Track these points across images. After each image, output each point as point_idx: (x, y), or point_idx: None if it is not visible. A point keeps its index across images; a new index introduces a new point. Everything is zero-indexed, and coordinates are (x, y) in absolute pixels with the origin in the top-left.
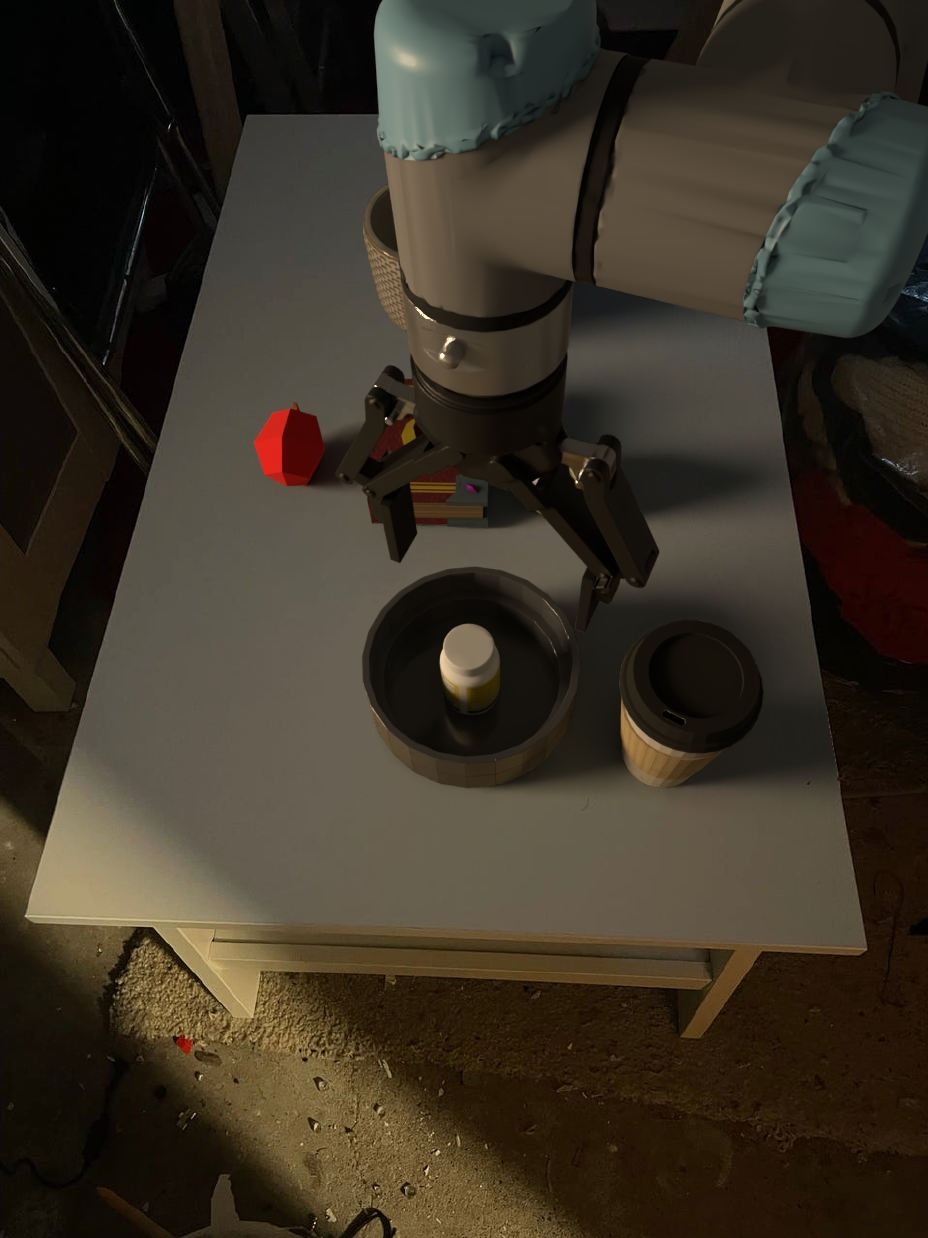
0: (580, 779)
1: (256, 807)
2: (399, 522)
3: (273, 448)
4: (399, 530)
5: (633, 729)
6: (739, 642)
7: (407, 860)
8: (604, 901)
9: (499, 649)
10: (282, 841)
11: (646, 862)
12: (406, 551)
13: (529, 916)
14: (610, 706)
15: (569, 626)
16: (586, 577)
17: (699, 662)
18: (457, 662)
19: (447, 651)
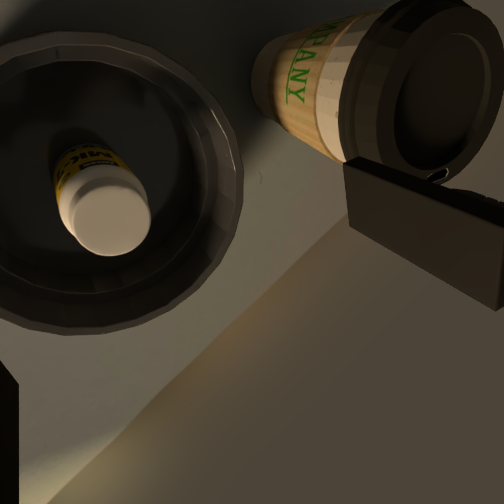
0: (243, 162)
1: (31, 411)
2: (3, 472)
3: None
4: (6, 451)
5: None
6: (477, 14)
7: (174, 325)
8: (311, 224)
9: (68, 107)
10: (79, 402)
11: (322, 177)
12: (3, 365)
13: (274, 275)
14: (220, 70)
15: (171, 61)
16: (502, 304)
17: (438, 81)
18: (121, 249)
19: (96, 248)
